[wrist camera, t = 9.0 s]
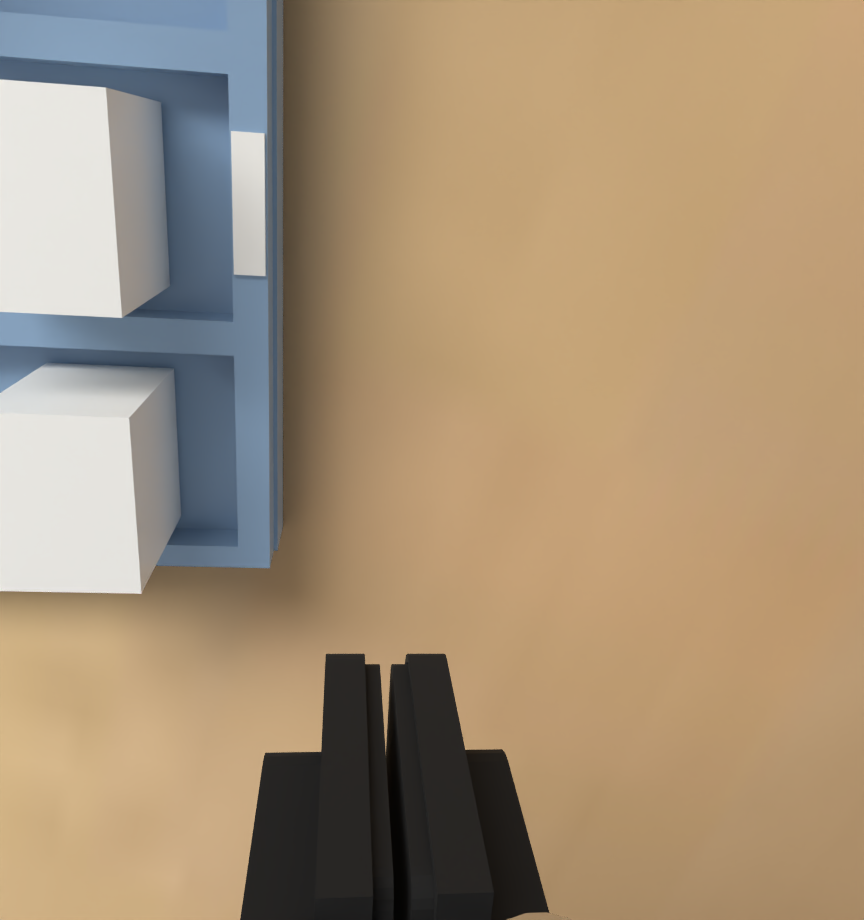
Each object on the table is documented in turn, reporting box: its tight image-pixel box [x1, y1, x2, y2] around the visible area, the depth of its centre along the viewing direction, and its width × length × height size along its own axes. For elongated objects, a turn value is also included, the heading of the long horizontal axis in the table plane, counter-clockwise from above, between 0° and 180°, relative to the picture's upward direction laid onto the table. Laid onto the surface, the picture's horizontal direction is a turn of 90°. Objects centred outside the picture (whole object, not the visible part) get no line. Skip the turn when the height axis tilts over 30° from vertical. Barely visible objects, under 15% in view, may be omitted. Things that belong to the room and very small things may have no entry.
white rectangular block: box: [0, 79, 170, 318], centre depth 16 cm, size 3×4×4 cm
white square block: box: [0, 363, 181, 594], centre depth 18 cm, size 3×4×4 cm
